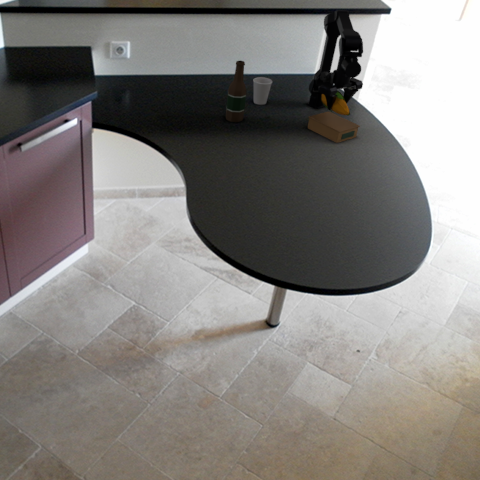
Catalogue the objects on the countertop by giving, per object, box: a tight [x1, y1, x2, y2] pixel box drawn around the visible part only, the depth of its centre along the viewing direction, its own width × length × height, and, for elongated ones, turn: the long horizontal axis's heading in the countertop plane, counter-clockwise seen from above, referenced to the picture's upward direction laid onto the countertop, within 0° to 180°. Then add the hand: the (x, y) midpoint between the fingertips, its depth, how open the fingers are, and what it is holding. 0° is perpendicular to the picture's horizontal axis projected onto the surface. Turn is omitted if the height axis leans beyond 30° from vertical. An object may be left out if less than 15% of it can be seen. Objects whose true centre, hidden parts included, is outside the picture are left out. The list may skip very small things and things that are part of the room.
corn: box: [321, 90, 351, 116], centre depth 231 cm, size 7×8×20 cm
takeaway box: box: [307, 110, 361, 144], centre depth 236 cm, size 17×12×5 cm
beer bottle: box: [225, 60, 247, 123], centre depth 239 cm, size 8×8×24 cm
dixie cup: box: [252, 76, 273, 106], centre depth 260 cm, size 8×8×10 cm
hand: (336, 107), depth 232 cm, fingers closed on corn, 8 cm apart
